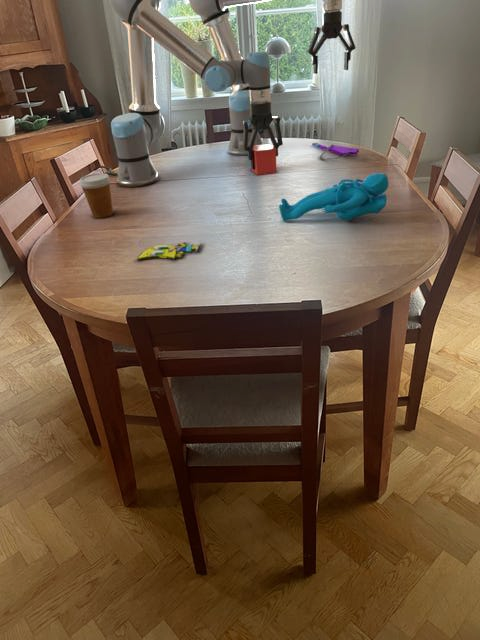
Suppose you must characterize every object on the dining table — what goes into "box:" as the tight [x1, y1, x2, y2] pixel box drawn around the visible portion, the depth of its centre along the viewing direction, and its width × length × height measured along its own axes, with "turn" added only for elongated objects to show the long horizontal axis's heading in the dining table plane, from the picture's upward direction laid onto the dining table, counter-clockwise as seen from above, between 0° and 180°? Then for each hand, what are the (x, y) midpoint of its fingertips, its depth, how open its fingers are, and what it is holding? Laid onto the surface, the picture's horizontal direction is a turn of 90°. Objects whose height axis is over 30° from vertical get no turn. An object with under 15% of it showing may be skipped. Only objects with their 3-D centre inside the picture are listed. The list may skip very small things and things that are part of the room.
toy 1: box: [137, 241, 202, 262], centre depth 126 cm, size 10×1×15 cm
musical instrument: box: [311, 142, 360, 160], centre depth 196 cm, size 24×2×20 cm
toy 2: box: [278, 172, 389, 222], centre depth 135 cm, size 17×11×30 cm
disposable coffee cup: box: [79, 172, 114, 219], centre depth 152 cm, size 10×10×12 cm
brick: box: [251, 143, 278, 176], centre depth 180 cm, size 8×8×9 cm
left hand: (263, 166), depth 182 cm, fingers closed on brick, 8 cm apart
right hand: (330, 71), depth 200 cm, fingers open, 13 cm apart
